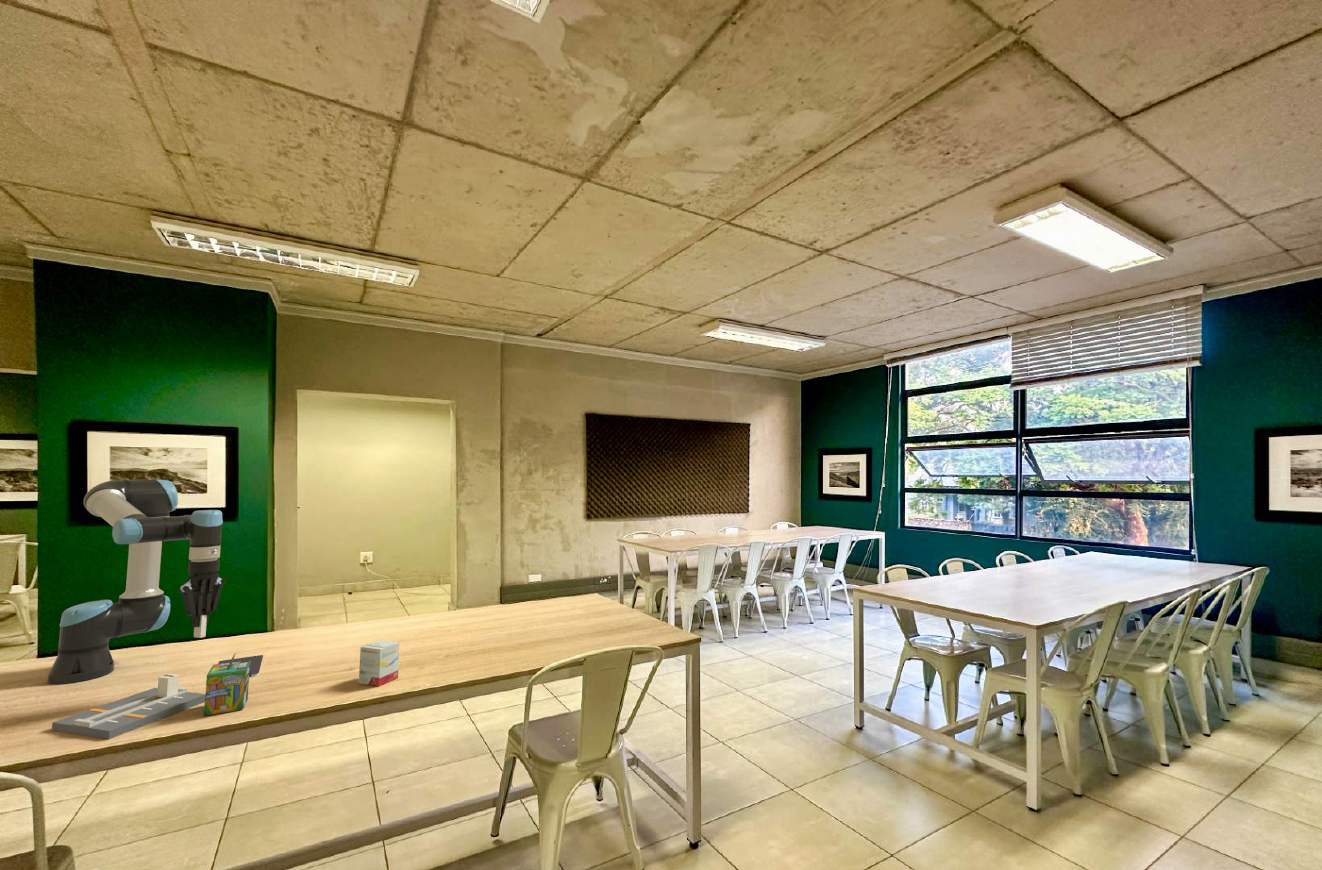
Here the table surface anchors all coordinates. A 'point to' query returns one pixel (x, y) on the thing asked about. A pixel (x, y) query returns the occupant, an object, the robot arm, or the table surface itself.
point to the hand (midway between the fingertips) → (199, 636)
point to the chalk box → (227, 687)
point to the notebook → (254, 664)
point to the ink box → (379, 663)
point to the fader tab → (168, 685)
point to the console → (127, 713)
